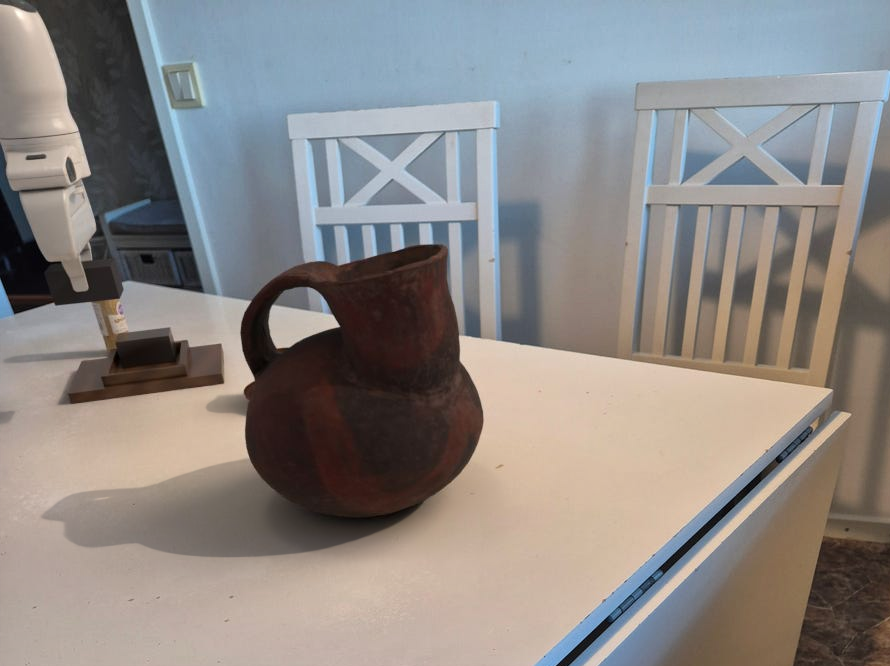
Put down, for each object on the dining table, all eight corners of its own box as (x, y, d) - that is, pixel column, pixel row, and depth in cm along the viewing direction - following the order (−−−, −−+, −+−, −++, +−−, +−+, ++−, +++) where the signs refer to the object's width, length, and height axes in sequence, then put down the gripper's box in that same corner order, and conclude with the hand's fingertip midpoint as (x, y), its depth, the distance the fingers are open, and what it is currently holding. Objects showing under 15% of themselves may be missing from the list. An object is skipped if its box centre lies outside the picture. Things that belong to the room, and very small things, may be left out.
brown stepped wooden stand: (70, 403, 122) (57, 366, 119) (84, 370, 135) (72, 335, 132) (224, 383, 126) (215, 346, 123) (223, 352, 139) (215, 318, 135)
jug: (345, 435, 107) (312, 220, 92) (523, 465, 97) (517, 228, 82) (211, 522, 90) (143, 274, 75) (411, 569, 79) (378, 293, 65)
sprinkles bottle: (134, 353, 141) (108, 268, 133) (105, 357, 140) (78, 271, 132) (135, 346, 144) (111, 262, 136) (108, 349, 143) (81, 265, 135)
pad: (55, 305, 107) (43, 272, 105) (61, 296, 111) (50, 264, 109) (120, 298, 108) (110, 265, 106) (123, 289, 112) (114, 257, 110)
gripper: (36, 155, 108) (72, 269, 116) (2, 175, 92) (46, 306, 100) (87, 151, 109) (119, 265, 117) (62, 170, 93) (101, 300, 101)
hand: (85, 284), depth 109 cm, fingers closed on pad, 5 cm apart
